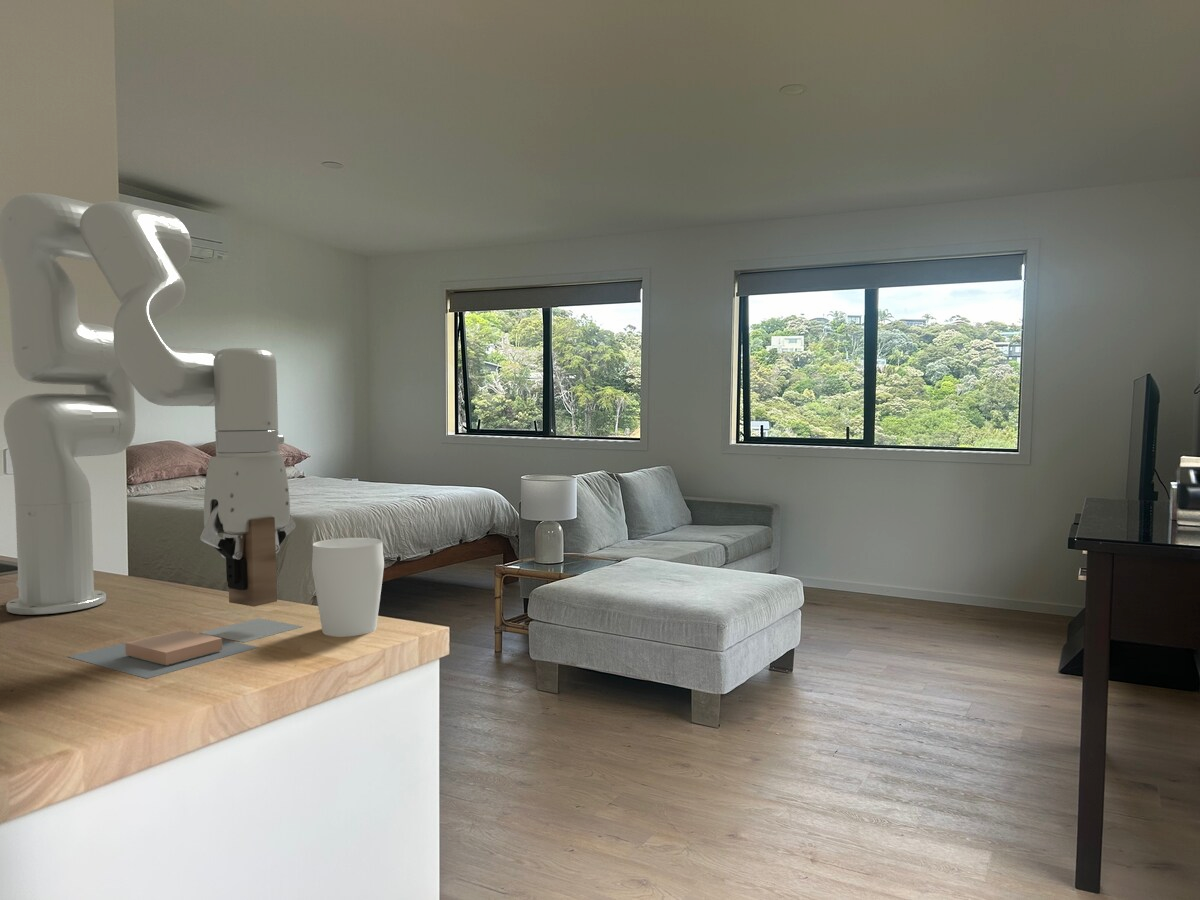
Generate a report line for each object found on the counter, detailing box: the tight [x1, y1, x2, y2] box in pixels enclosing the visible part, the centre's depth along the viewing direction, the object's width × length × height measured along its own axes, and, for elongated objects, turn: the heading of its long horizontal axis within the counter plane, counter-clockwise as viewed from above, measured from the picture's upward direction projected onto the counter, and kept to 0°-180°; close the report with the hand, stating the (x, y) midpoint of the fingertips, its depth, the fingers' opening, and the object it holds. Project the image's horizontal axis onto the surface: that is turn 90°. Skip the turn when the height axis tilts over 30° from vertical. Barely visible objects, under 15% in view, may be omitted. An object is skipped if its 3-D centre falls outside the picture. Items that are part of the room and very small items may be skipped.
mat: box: [67, 638, 260, 680], centre depth 103 cm, size 16×14×1 cm
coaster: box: [199, 617, 304, 644], centre depth 113 cm, size 9×9×1 cm
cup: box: [311, 537, 385, 638], centre depth 113 cm, size 9×9×12 cm
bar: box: [228, 517, 278, 608], centre depth 113 cm, size 5×4×11 cm
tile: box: [124, 629, 223, 666], centre depth 102 cm, size 2×7×8 cm
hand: (251, 584), depth 113 cm, fingers closed on bar, 3 cm apart
